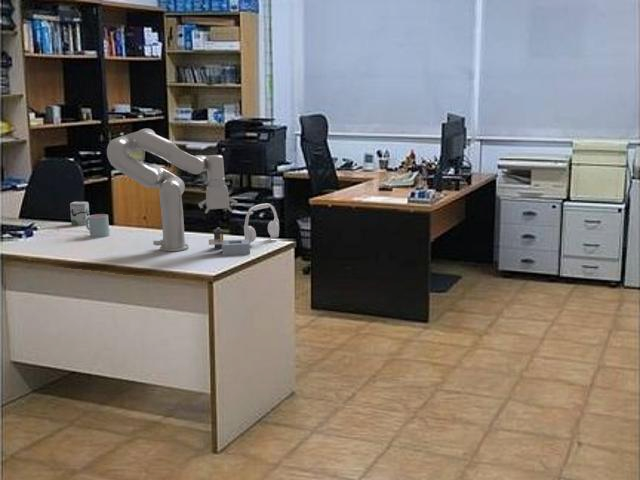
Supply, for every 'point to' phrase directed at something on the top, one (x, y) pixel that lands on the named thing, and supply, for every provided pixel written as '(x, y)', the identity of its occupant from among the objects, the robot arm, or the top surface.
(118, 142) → the robot arm
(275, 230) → the headset
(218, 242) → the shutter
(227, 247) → the socket
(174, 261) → the top surface
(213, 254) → the top surface
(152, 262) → the top surface
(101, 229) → the mug
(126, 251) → the top surface
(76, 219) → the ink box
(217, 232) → the plug
